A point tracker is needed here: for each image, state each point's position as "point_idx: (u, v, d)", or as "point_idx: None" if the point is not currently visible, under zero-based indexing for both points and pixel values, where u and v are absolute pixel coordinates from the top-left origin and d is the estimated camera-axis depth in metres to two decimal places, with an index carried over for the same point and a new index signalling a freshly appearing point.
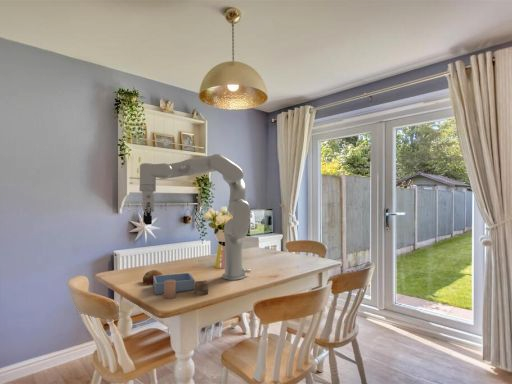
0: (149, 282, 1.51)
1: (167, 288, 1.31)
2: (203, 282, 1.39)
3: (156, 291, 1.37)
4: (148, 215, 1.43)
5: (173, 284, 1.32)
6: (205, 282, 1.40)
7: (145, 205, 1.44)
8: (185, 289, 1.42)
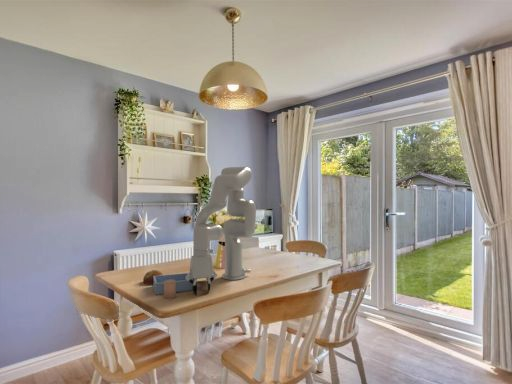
0: (149, 282, 1.51)
1: (167, 288, 1.31)
2: (203, 282, 1.39)
3: (156, 291, 1.37)
4: None
5: (173, 284, 1.32)
6: (205, 281, 1.40)
7: (212, 272, 1.40)
8: (185, 289, 1.42)
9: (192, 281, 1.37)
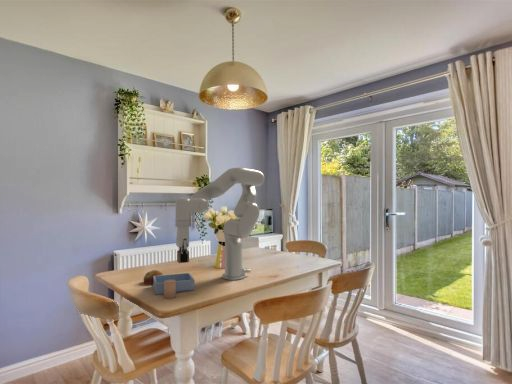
0: (149, 282, 1.51)
1: (167, 288, 1.31)
2: None
3: (156, 291, 1.37)
4: None
5: (173, 284, 1.32)
6: None
7: None
8: (185, 289, 1.42)
9: None
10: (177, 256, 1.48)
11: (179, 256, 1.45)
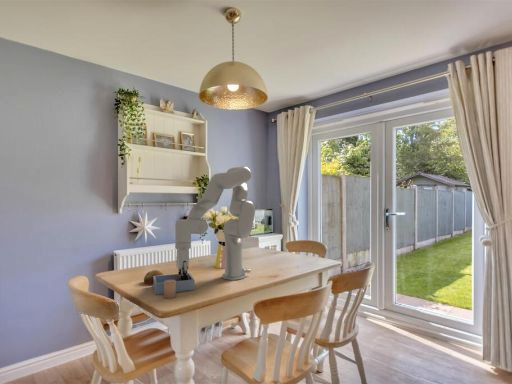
0: (150, 282, 1.51)
1: (167, 288, 1.31)
2: None
3: (156, 291, 1.37)
4: None
5: (173, 284, 1.32)
6: None
7: None
8: (185, 289, 1.42)
9: None
10: (177, 280, 1.48)
11: None
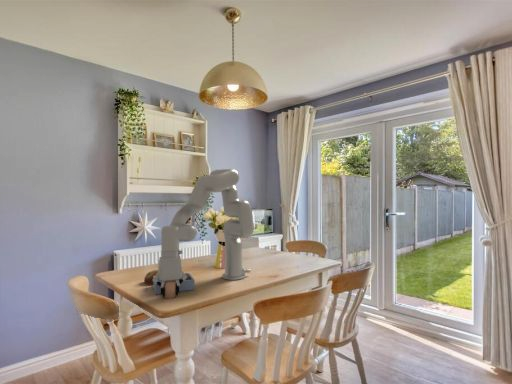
0: (150, 282, 1.51)
1: (167, 288, 1.31)
2: None
3: (156, 291, 1.37)
4: None
5: (173, 284, 1.32)
6: None
7: (181, 274, 1.35)
8: (185, 289, 1.42)
9: (160, 283, 1.32)
10: None
11: None
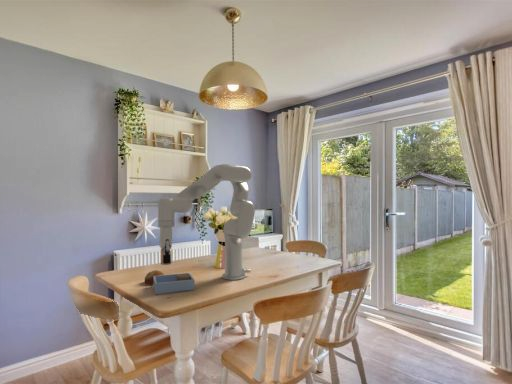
0: (150, 282, 1.51)
1: (171, 254, 1.44)
2: (183, 275, 1.49)
3: (156, 291, 1.37)
4: None
5: None
6: (182, 274, 1.49)
7: None
8: (185, 289, 1.42)
9: None
10: (177, 280, 1.48)
11: None
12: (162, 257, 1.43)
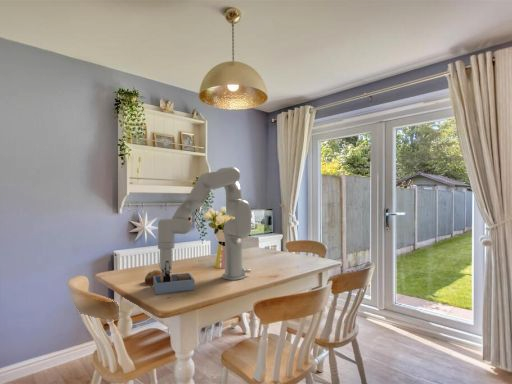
0: (151, 282, 1.51)
1: (171, 278, 1.44)
2: (183, 275, 1.49)
3: (156, 291, 1.37)
4: None
5: None
6: (182, 274, 1.49)
7: None
8: (185, 289, 1.42)
9: (168, 272, 1.40)
10: (177, 280, 1.48)
11: None
12: (162, 282, 1.43)
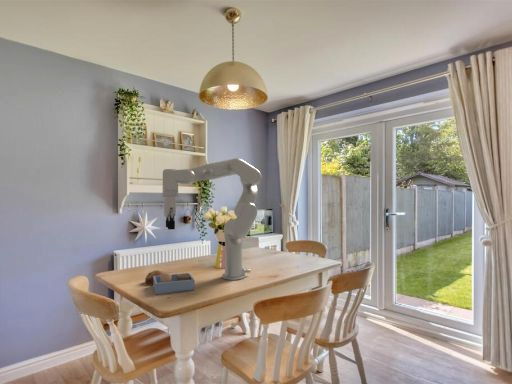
0: (151, 282, 1.51)
1: (171, 278, 1.44)
2: (183, 275, 1.49)
3: (156, 291, 1.37)
4: None
5: None
6: (182, 274, 1.49)
7: None
8: (185, 289, 1.42)
9: None
10: (177, 280, 1.48)
11: None
12: (162, 282, 1.43)
